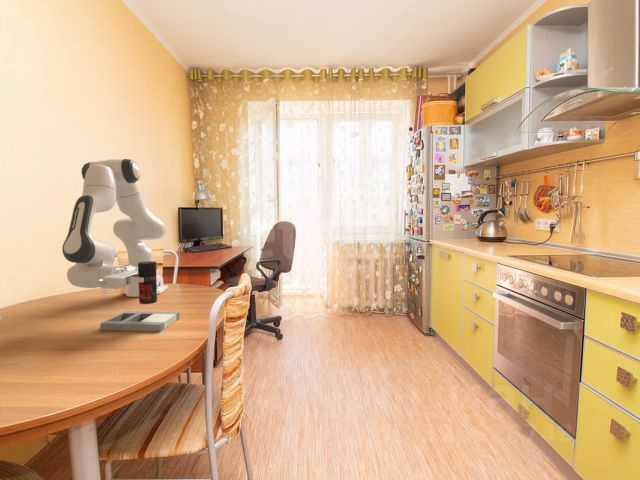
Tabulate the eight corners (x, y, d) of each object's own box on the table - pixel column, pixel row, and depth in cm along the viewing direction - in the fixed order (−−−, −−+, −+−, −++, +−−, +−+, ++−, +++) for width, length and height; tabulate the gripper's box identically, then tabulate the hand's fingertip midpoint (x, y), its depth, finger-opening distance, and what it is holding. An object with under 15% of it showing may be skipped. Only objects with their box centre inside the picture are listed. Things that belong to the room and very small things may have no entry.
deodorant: (136, 302, 118) (135, 262, 117) (153, 299, 123) (152, 260, 121) (142, 305, 114) (141, 264, 113) (159, 301, 119) (158, 262, 118)
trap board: (125, 317, 127) (125, 311, 127) (179, 318, 126) (179, 312, 126) (100, 330, 113) (100, 323, 113) (160, 331, 112) (160, 324, 112)
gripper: (92, 273, 108) (132, 274, 107) (130, 264, 128) (164, 264, 128) (93, 291, 108) (132, 292, 108) (131, 279, 129) (164, 280, 128)
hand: (150, 277), depth 118 cm, fingers closed on deodorant, 6 cm apart
